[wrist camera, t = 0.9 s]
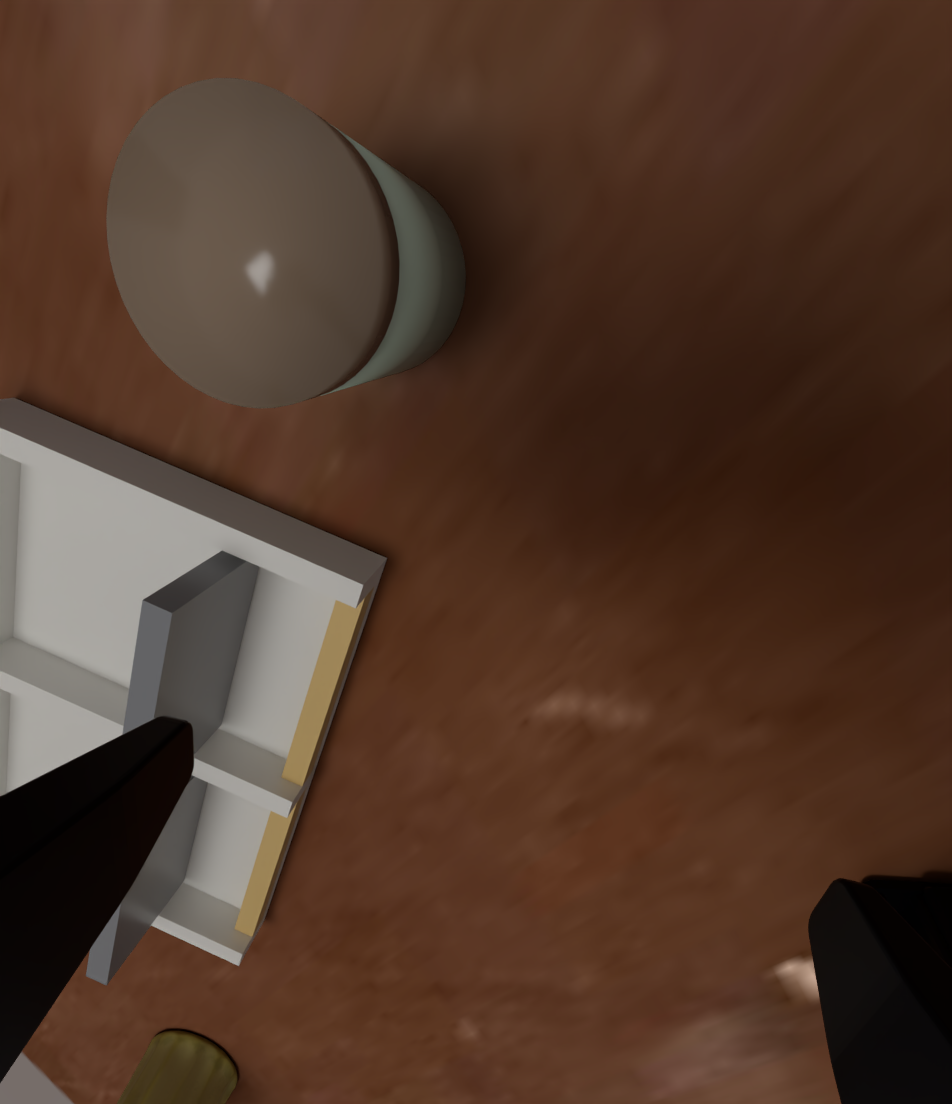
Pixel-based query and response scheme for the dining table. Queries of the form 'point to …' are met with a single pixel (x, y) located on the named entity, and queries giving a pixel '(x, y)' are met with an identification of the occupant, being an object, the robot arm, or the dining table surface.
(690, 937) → the dining table surface
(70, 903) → the robot arm
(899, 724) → the dining table surface
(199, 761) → the white divided tray
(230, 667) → the plate
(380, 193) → the sage jar
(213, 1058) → the vase
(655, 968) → the dining table surface
